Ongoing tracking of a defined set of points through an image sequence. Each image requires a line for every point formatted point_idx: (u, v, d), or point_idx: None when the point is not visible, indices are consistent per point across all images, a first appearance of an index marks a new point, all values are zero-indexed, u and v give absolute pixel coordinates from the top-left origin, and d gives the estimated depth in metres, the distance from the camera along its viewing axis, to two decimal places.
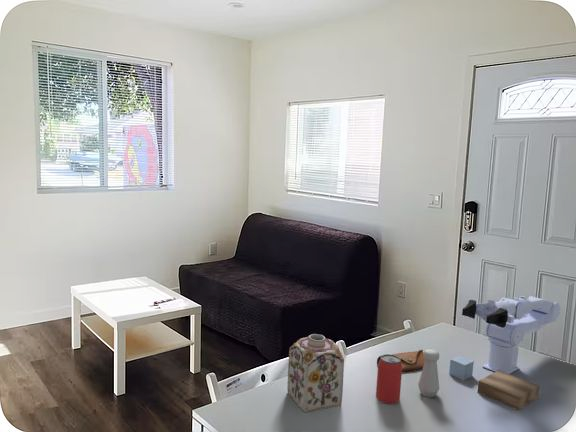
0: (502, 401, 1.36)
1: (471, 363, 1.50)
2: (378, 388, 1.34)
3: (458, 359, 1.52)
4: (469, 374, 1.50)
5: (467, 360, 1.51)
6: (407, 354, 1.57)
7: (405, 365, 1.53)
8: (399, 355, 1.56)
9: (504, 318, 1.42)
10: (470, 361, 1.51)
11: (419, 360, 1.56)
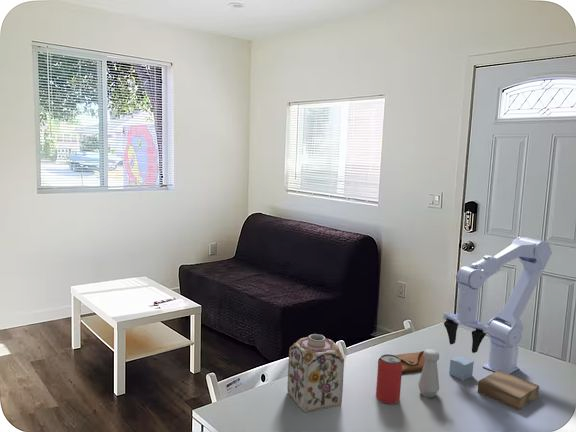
0: (502, 401, 1.36)
1: (471, 363, 1.50)
2: (378, 388, 1.34)
3: (458, 359, 1.52)
4: (469, 374, 1.50)
5: (467, 360, 1.51)
6: (409, 355, 1.57)
7: (406, 366, 1.53)
8: (400, 356, 1.55)
9: None
10: (470, 361, 1.51)
11: (420, 362, 1.55)
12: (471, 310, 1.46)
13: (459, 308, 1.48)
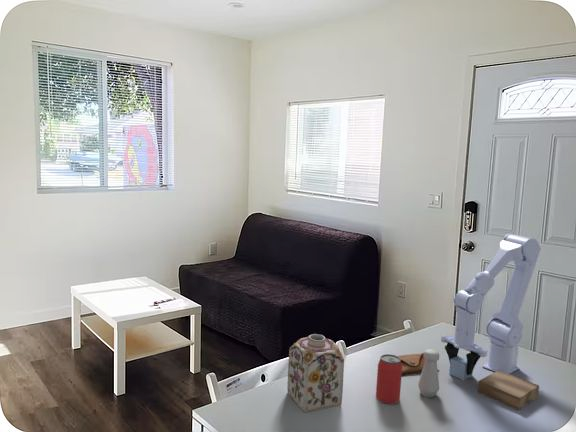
0: (502, 401, 1.36)
1: None
2: (378, 388, 1.34)
3: (458, 358, 1.52)
4: None
5: None
6: (410, 356, 1.56)
7: (407, 367, 1.52)
8: (402, 357, 1.55)
9: None
10: None
11: (422, 363, 1.54)
12: (469, 334, 1.47)
13: (457, 332, 1.49)
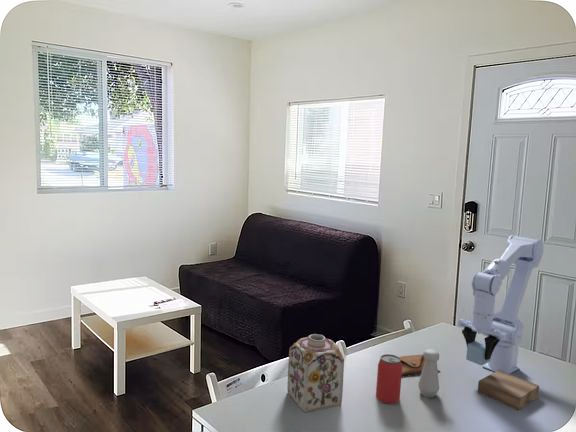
0: (502, 401, 1.36)
1: None
2: (378, 388, 1.34)
3: (476, 343, 1.47)
4: None
5: None
6: (411, 357, 1.55)
7: (408, 368, 1.51)
8: (403, 358, 1.54)
9: None
10: None
11: (423, 364, 1.54)
12: (487, 317, 1.42)
13: (475, 315, 1.44)
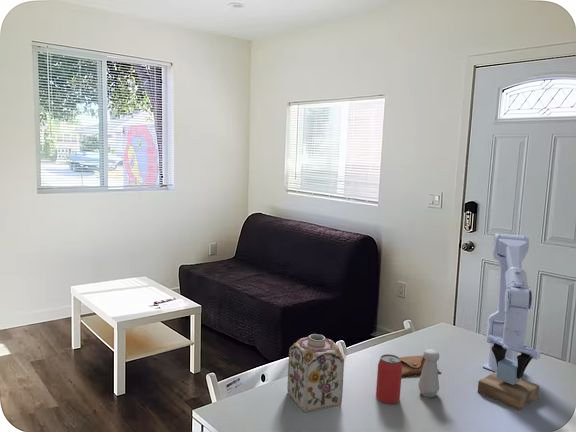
0: (502, 401, 1.36)
1: None
2: (378, 388, 1.34)
3: (506, 361, 1.40)
4: None
5: (516, 363, 1.39)
6: (412, 358, 1.55)
7: (409, 369, 1.51)
8: (403, 359, 1.54)
9: None
10: None
11: None
12: (520, 334, 1.35)
13: (506, 332, 1.37)
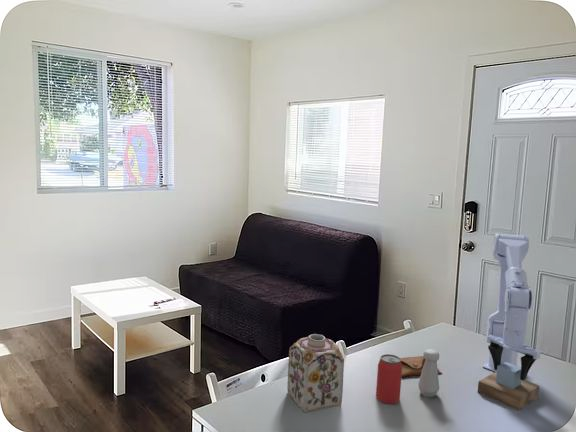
0: (502, 401, 1.36)
1: (520, 370, 1.38)
2: (378, 388, 1.34)
3: (506, 365, 1.40)
4: (518, 382, 1.39)
5: (515, 367, 1.39)
6: (413, 359, 1.54)
7: (409, 369, 1.50)
8: (404, 359, 1.53)
9: None
10: (519, 368, 1.39)
11: None
12: (520, 334, 1.35)
13: (506, 332, 1.37)
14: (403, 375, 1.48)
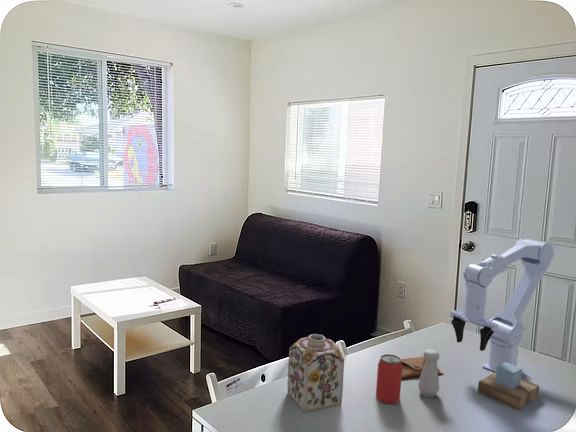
0: (502, 401, 1.36)
1: (520, 370, 1.38)
2: (378, 388, 1.34)
3: (505, 365, 1.40)
4: (517, 382, 1.38)
5: (515, 367, 1.39)
6: (414, 360, 1.53)
7: (411, 370, 1.49)
8: (405, 360, 1.52)
9: None
10: (518, 368, 1.39)
11: None
12: (479, 308, 1.46)
13: (467, 306, 1.48)
14: (404, 376, 1.48)
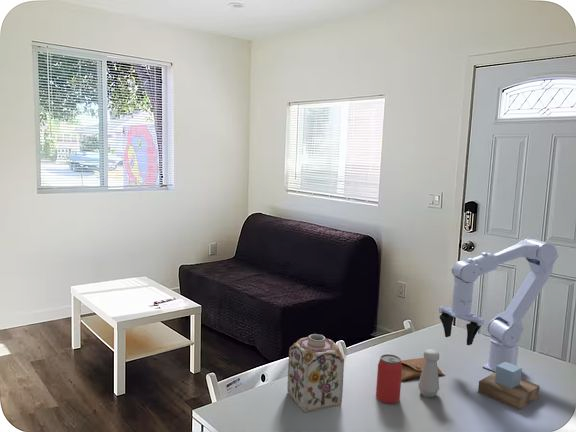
0: (503, 401, 1.36)
1: (519, 370, 1.38)
2: (378, 388, 1.34)
3: (505, 365, 1.40)
4: (517, 382, 1.39)
5: (515, 367, 1.40)
6: (415, 361, 1.53)
7: (413, 372, 1.49)
8: (407, 362, 1.51)
9: None
10: (518, 368, 1.39)
11: None
12: (466, 303, 1.50)
13: (454, 301, 1.52)
14: (407, 378, 1.47)
